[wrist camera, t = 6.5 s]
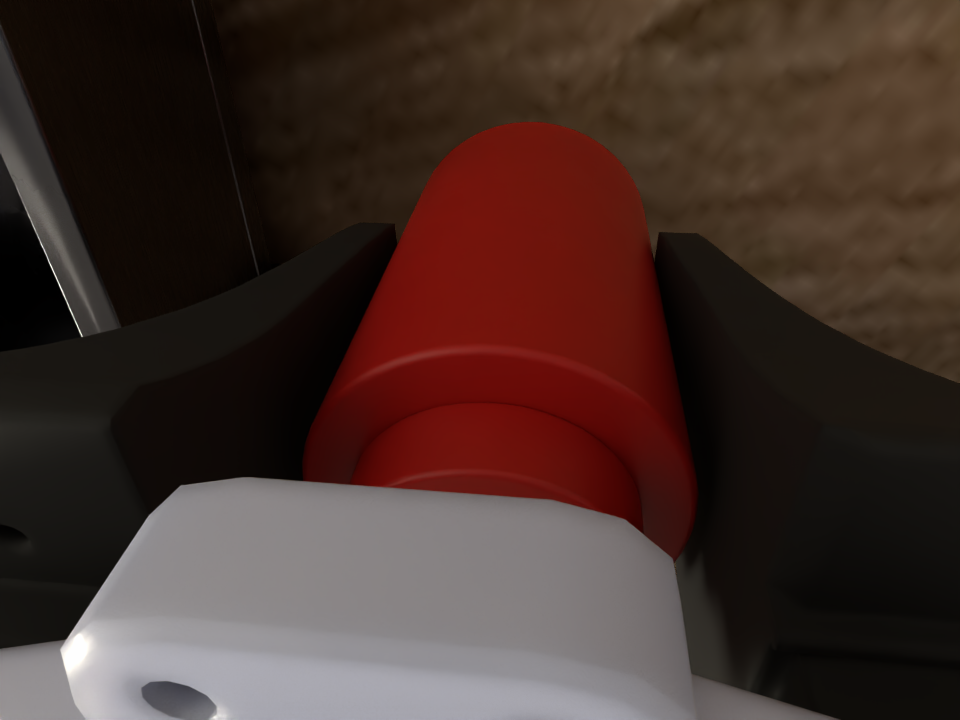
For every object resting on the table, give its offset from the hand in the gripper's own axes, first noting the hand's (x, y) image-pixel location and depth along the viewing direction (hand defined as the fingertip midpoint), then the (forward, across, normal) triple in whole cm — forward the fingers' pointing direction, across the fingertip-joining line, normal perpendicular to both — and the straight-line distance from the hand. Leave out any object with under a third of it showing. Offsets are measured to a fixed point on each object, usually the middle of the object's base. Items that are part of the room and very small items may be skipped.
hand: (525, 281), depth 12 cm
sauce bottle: (+2, 0, 0) cm, 2 cm away
